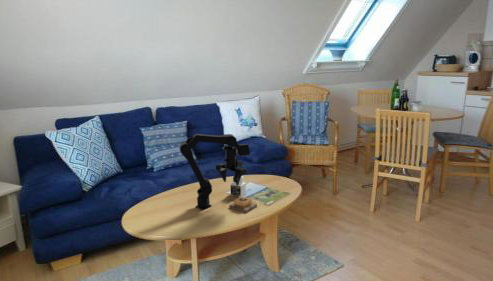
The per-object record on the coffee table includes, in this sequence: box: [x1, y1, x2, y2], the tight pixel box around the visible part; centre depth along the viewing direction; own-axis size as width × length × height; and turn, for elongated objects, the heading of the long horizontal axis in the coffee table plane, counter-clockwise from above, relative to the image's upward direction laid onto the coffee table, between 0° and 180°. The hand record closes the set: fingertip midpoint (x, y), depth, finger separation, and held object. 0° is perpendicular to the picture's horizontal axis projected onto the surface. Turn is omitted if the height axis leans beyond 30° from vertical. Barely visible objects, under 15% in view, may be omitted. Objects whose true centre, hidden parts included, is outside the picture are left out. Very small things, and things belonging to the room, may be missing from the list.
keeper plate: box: [228, 196, 258, 214], centre depth 191 cm, size 10×12×6 cm
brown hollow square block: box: [233, 196, 253, 208], centre depth 191 cm, size 7×7×3 cm
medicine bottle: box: [230, 175, 247, 198], centre depth 209 cm, size 7×7×12 cm
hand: (231, 183), depth 194 cm, fingers open, 9 cm apart
